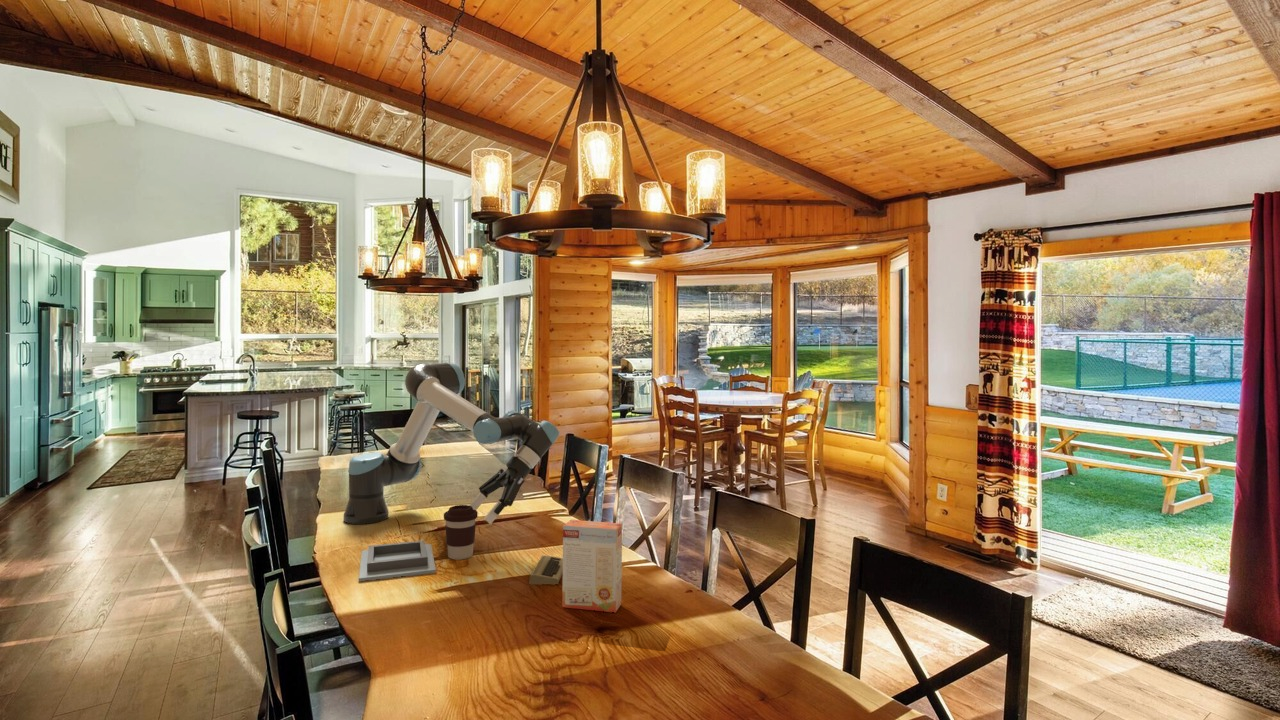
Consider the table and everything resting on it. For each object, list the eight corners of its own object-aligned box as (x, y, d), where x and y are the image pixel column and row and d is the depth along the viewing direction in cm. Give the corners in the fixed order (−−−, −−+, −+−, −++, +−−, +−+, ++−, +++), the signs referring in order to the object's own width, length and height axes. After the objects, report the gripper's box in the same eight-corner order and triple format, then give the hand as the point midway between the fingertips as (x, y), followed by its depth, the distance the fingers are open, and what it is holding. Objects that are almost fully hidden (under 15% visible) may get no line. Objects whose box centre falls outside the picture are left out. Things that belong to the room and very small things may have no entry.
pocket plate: (362, 553, 194) (362, 542, 194) (430, 546, 201) (430, 535, 201) (358, 582, 171) (358, 569, 171) (435, 573, 179) (435, 560, 179)
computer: (558, 586, 172) (558, 574, 171) (528, 585, 172) (529, 573, 172) (567, 566, 187) (567, 555, 187) (540, 565, 188) (540, 554, 187)
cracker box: (622, 604, 160) (623, 522, 159) (615, 614, 154) (617, 529, 153) (569, 598, 163) (570, 518, 162) (561, 607, 157) (562, 524, 156)
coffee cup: (445, 563, 186) (445, 513, 186) (441, 553, 195) (442, 505, 195) (479, 559, 190) (480, 510, 190) (474, 549, 199) (474, 502, 199)
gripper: (548, 476, 195) (503, 533, 186) (513, 463, 215) (470, 514, 206) (533, 461, 192) (486, 518, 183) (498, 449, 212) (454, 500, 203)
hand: (478, 516), depth 195 cm, fingers open, 13 cm apart
